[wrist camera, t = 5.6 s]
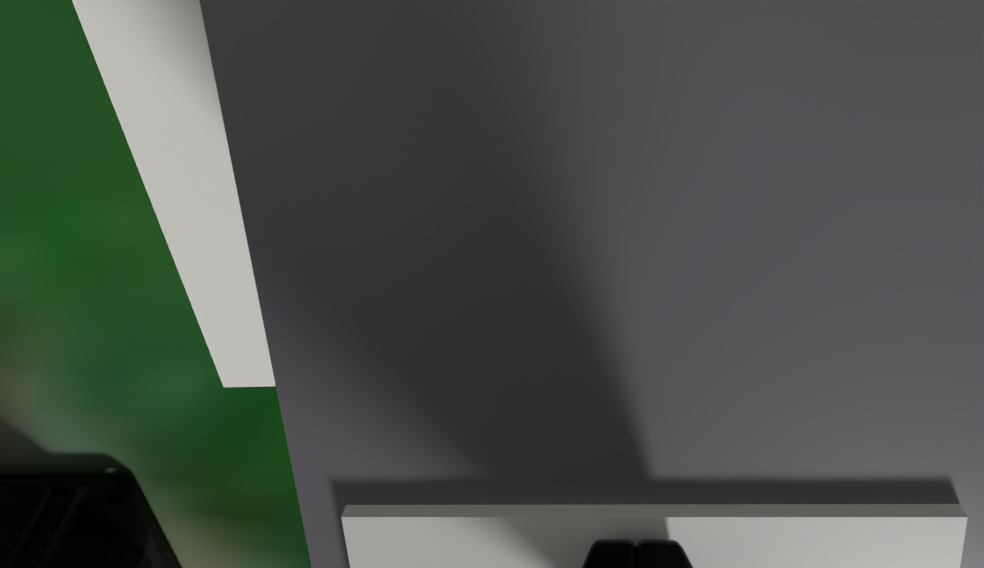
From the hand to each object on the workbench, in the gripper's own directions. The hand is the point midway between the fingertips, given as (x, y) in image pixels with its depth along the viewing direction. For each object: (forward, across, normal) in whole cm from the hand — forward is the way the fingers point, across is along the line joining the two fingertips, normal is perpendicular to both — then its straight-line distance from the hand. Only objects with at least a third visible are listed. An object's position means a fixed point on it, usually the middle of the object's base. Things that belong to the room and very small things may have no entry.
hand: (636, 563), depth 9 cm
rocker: (+4, 0, -4) cm, 6 cm away
